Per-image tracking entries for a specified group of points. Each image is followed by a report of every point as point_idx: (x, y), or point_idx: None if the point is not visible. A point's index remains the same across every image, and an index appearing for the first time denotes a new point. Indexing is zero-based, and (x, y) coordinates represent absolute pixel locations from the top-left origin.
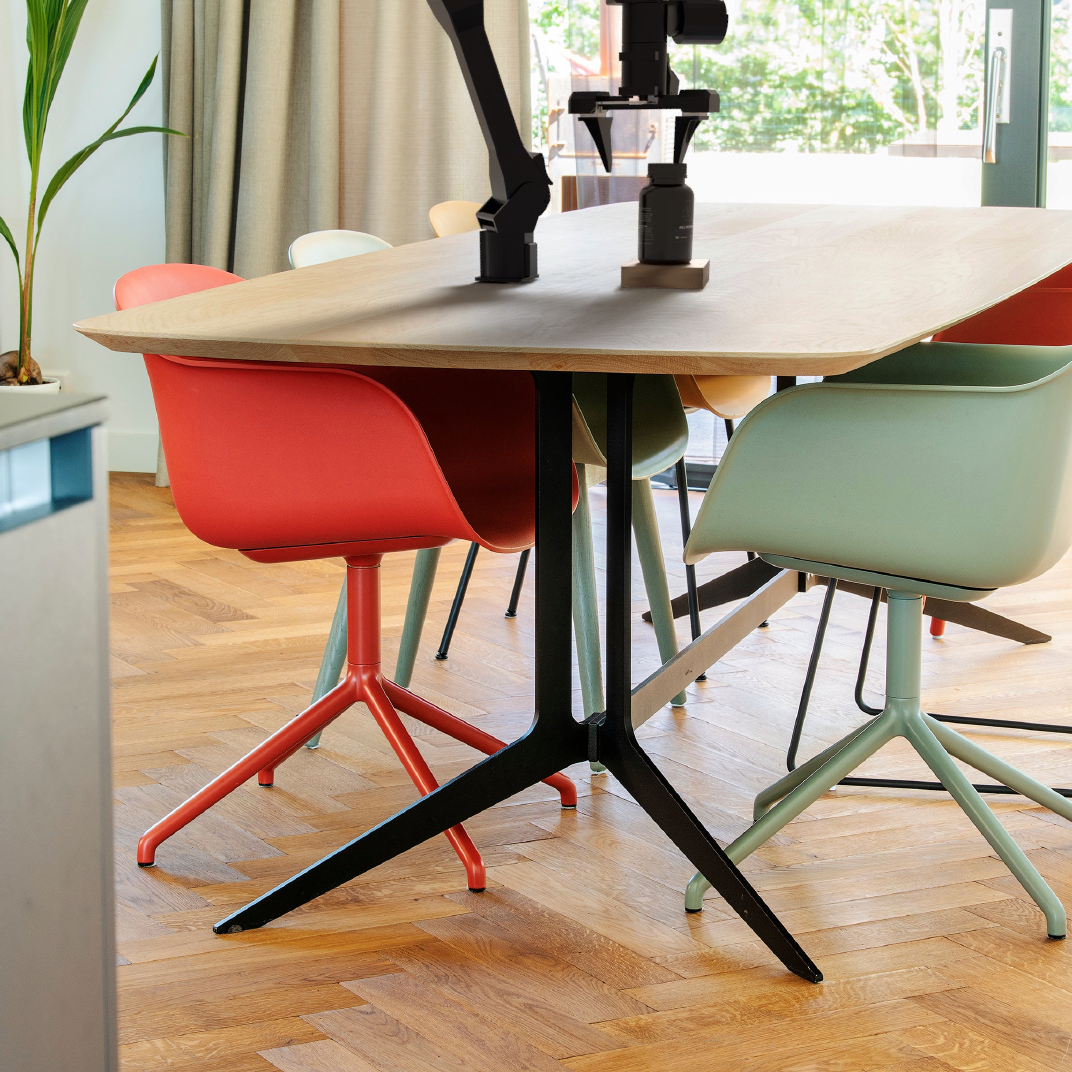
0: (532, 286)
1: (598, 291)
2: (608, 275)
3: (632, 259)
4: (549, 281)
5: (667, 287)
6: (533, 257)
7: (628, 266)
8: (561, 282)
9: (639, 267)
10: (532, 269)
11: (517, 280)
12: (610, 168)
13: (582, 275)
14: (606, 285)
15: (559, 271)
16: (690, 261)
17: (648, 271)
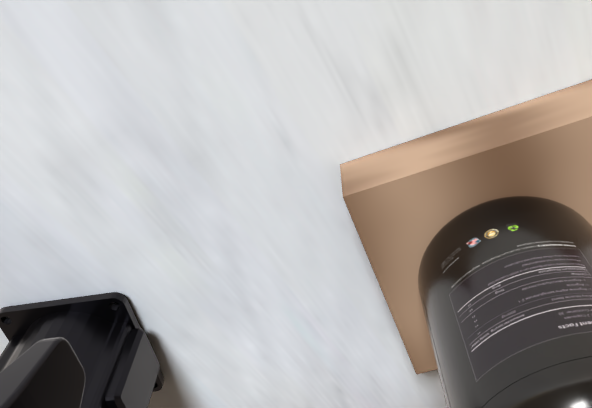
0: (212, 390)
1: (391, 396)
2: (231, 131)
3: (362, 225)
4: (180, 313)
5: None
6: (140, 386)
7: (435, 367)
8: (220, 316)
9: None
10: (151, 367)
11: (158, 389)
12: (64, 376)
13: (161, 169)
14: (355, 317)
15: (16, 109)
16: (577, 196)
17: None
